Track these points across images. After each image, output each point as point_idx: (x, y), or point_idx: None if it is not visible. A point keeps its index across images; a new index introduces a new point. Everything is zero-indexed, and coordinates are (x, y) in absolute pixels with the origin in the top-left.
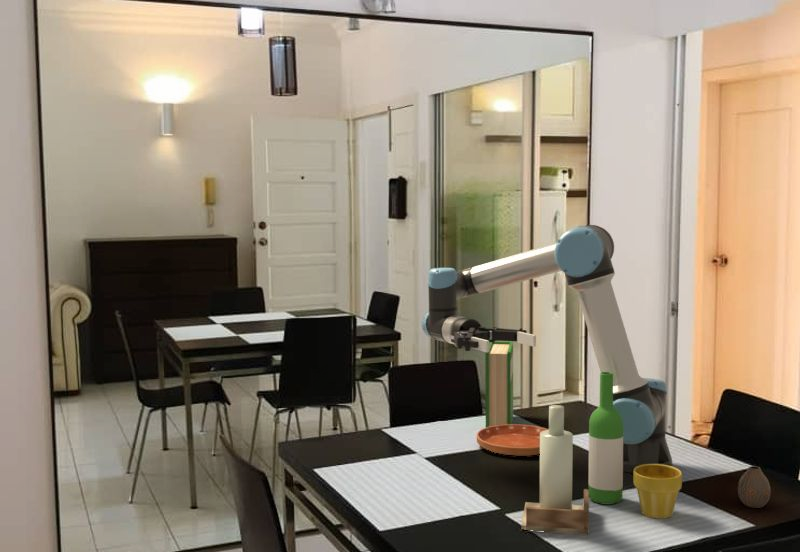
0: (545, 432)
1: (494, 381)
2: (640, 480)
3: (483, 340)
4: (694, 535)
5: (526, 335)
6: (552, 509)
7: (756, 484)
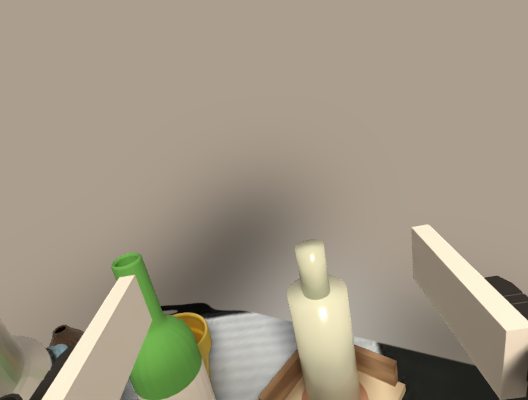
0: (330, 300)
1: None
2: (208, 335)
3: (441, 237)
4: (214, 323)
5: (115, 321)
6: (357, 347)
7: (82, 331)
